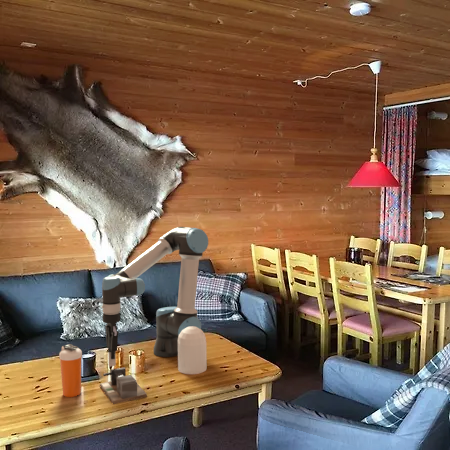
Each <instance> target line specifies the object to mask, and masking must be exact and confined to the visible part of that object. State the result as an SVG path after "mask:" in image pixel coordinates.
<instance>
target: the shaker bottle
mask: <svg viewBox="0 0 450 450" xmlns="http://www.w3.org/2000/svg"><path fill="white" fill-rule="evenodd" d="M82 357H83V351H82V349H80V348H79V347H78V346H77V345H73V344H71V343H69V344H65V345H62V346H61V350H60V351H59V358H58V359H59V363H60V364H59V365H60V374H61V375H60V376H61V387H62V395H63V397H65V398H74V397H77V395H78V396H79V395H81V393H82Z"/></svg>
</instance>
